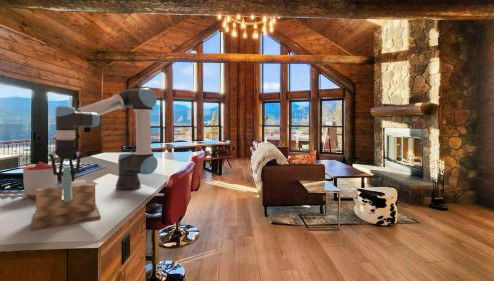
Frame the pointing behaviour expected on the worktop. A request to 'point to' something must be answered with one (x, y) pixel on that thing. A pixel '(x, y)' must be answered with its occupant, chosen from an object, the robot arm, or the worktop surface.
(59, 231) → the worktop surface
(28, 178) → the citrus juicer
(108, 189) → the worktop surface
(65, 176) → the teal slotted plate
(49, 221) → the joint base
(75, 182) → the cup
